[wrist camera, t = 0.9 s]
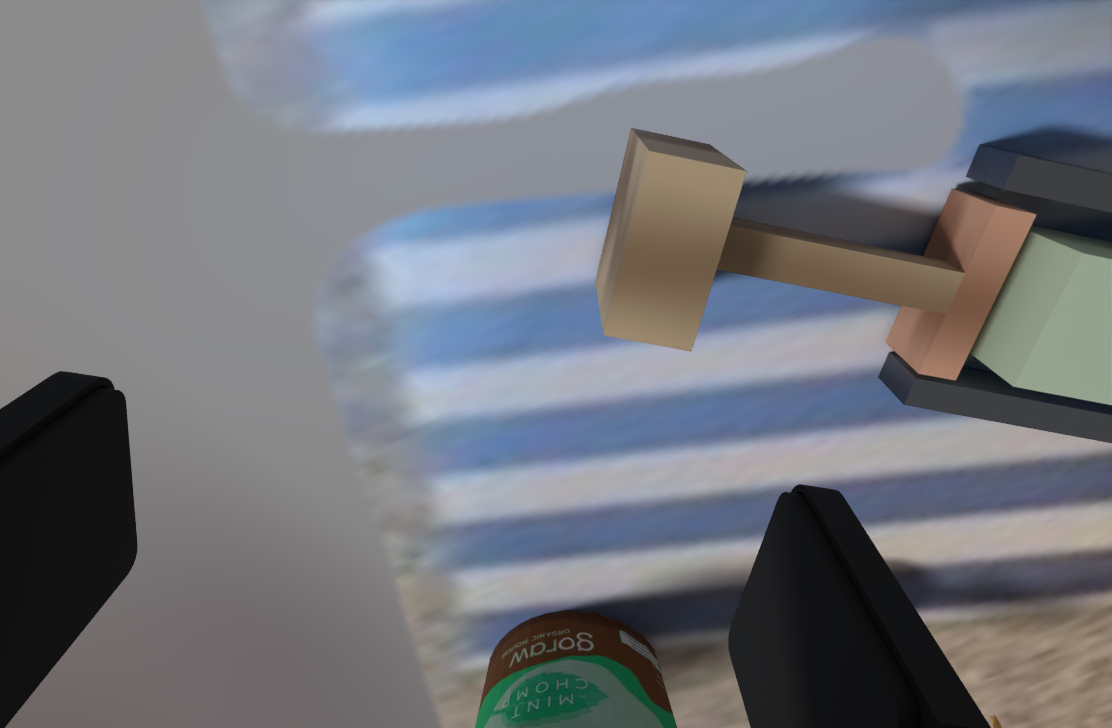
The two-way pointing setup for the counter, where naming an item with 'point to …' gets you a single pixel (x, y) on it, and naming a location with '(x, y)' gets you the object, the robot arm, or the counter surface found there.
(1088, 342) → the block
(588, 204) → the counter surface
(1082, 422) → the dark grey rails
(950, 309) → the tan pedestal
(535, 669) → the food container
